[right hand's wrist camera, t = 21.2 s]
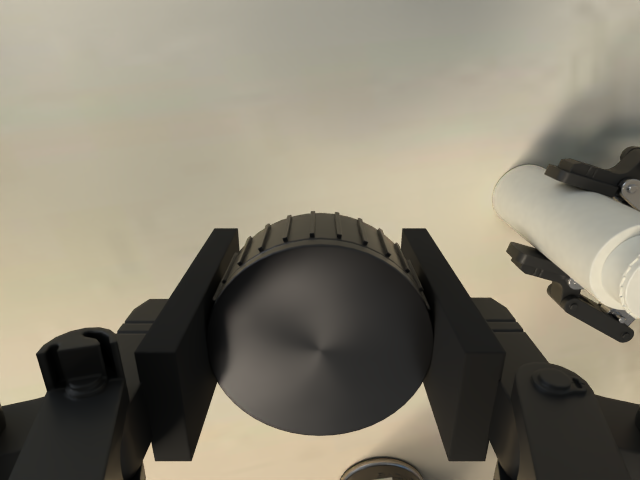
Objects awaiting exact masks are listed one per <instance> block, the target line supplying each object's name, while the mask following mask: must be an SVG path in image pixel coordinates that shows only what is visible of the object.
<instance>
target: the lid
mask: <svg viewBox="0 0 640 480" xmlns="http://www.w3.org/2000/svg"><path fill="white" fill-rule="evenodd" d="M423 291H424V290H423V288H422V285H421V283H420V281H419V279H418V277H417V275H416V272H415V270H414V268H413V266H412V264H411V262H410V260H407V261H406V259H405V257H404V255H403V253H402V251H401V249H400V246H399V245H398V243H395V244H394V243H393V242H392V241H391V240H390V239H389V238H387V237H386V236H385V235H384V233H383V231H382V230H381V229H380V228H379V229H378V230H377V229H375V228H374V227H372V226H370V225H368V224H366V223H364V222H363V221H362V219H360V218H358V220H356V219H353V218H350V217H347V216H342V215H339V213H338V212H335V214H327V213H315V211H311V214H303V215H298V216H293V217H292V216H291V215H289V216H287V219H284V220H281V221H279V222H276V223H274V224H272V225H270V224H267V225H266V226H265V229H263V230H262V231H260V232H259V233H257V234H256V235H255V236H254V237H253V238H252V237H251V236H250V237H249V238H248V239H247V241H246V244H245V246H244V247H243V248H242V249H241V250H240V252H239V253H236V252H235V254H234V255H233V257H232V260H231V262H230V264H229V266H228V268H227V271H225V273H224V275H223V277H222V280H221V282H220V284H219V286H218V288H217V290H216V293H215V295H214V297H213V299H212V302H211V303H213V304H214V305H213V307H212V310H211V313H210V316H209V319H208V323H207V330H206V341H207V350H208V358H209V363H210V366H211V369H212V372H213V374H214V376H215V378H216V380H217V382H218V384H219V385H220V387H221V388H222V389H223V391H224V392H225V394H226V395H227V396H228V397H229V398H230V399H231V400H232V401H233V402H234V403H235V404H236V405H237V406H238V407H239V408H241V409H242V410H243V411H244V412H246V413H247V414H249V415H250V416H252V417H253V418H255V419H257V420H259V421H261V422H262V423H264V424H266V425H269V426H272V427H274V428H277V429H280V430H283V431H287V432H291V433H296V434H303V435H315V436H325V435H337V434H344V433H349V432H353V431H357V430H360V429H363V428H366V427H369V426H372V425H374V424H376V423H378V422H380V421H382V420H384V419H385V418H387V417H388V416H390V415H392V414H393V413H395V412H396V411H397V410H398V409H400V408H401V407H402V406H403V405H405V403H406V402H407V401H408V400H409V399H410V398H411V397H412V396H413V395H414V394H415V392H416V391H417V390H418V388H419V387H420V386H421V384H422V382H423V380H424V378H425V377H426V375H427V372H428V369H429V367H430V364H431V360H432V353H433V344H434V329H433V323H432V319H431V316H430V312H431V308H430V306H429V304H428V302H427V299H426V297H425V295H424V293H423Z"/></svg>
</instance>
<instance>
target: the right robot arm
mask: <svg viewBox="0 0 640 480" xmlns="http://www.w3.org/2000/svg"><path fill="white" fill-rule="evenodd" d="M401 251H402V253H403V255H404V257H405V259H406V261H407V260H410V262H411V264H412V266H413V268H414V270H415V272H416V275H417V277H418V279H419V281H420V283H421V285H422V288H423V290H424V291H423V293H424V295H425V297H426V299H427V302H428V304H429V306H430V308H431V312H430V316H431V319H432V323H433V329H434V344H433V353H432V360H431V364H430V367H429V369H428V372H427V375H426V377H425V378H424V380H423V383H424V386H425V389H426V393H427V396H428V399H429V402H430V405H431V408H432V411H433V414H434V417H435V420H436V423H437V426H438V429H439V433H440V436H441V439H442V442H443V445H444V448H445V451H446V454H447V457H448V460H449V461H485V459H486V454H487V449H488V444H489V440H490V443H491V445H492V447H493V449H494V451H495V454H496V456H497V458H498V460H497V465H496V469H495V474H494V479H493V480H640V405H639V404H634V403H629V402H625V401H620V400H615V399H611V398H606V397H602V396H598V395H595V394H594V392H593V390H592V389H591V387H590V386H589V385H588V383H587V382H586V381H585V380H584V379H582V378H581V377H580V376H578V375H577V374H576V373H574V372H572V371H570V370H568V369H566V368H563V367H561V366H558V365H554V364H550V363H549V362H548V361H547V360H546V359H545V357H544V356H543V355H542V353H541V352H540V351H539V349H538V348H537V347H536V346H535V344H534V343H533V342H532V340H531V339H530V338H529V336H528V335H527V334H526V333H525V332H523V329H522V327H521V326H520V325H519V323H518V322H516V320H515V318H514V317H513V316H512V314H511V313H510V312H509V310H508V309H507V308H506V307H504V306H503V305H501V304H500V303H498V302H497V301H495V300H494V299H492V298H471V297H470V296H469V294H468V293H467V291H466V290H465V288H464V287H463V285H462V284H461V282H460V281H459V279H458V277H457V276H456V274H455V273H454V271H453V270H452V268H451V267H450V265H449V264H448V262H447V260H446V259H445V257H444V256H443V254H442V253H441V251H440V250H439V248H438V247H437V245H436V244H435V242H434V240H433V239H432V237H431V236H430V234H429V233H428V231H427V230H426V228H402V241H401ZM235 252H236V253H239V252H240V251H239V238H238V228H215V229H214V230H213V232H212V233H211V235H210V236H209V238H208V239H207V241H206V242H205V244H204V246H203V247H202V249H201V250H200V252H199V253H198V255H197V256H196V258H195V259H194V261H193V262H192V264H191V266H190V267H189V269H188V270H187V272H186V273H185V275H184V276H183V278H182V279H181V281H180V283H179V284H178V286H177V287H176V289H175V290H174V292H173V293H172V295H171V296H170V298H169V299H149V300H147V301H146V302H144V303H143V304H141V305H140V306H138V307H137V308H135V309H134V310H133V311H132V313H131V314H130V315H129V317H128V318H127V319H126V320H125V324H122V326H121V327H120V328H119V330H118V331H117V334H115V333H113V332H112V331H111V330H109V329H104V328H100V327H96V328H83V329H79V330H74V331H70V332H68V333H65V334H63V335H60V336H58V337H55V338H54V339H52V340H51V341H49V342H48V343H46V344H45V345H43V346H42V348H41V349H40V350H39V351H38V352H37V353H36V356H37V359H38V362H39V366H40V369H41V372H42V376H43V379H44V382H45V386H46V389H47V393H46V395H45V397H41V398H38V399H34V400H29V401H24V402H20V403H15V404H10V405H6V406H1V404H0V480H146V476H145V470H144V465H143V459H144V456H145V454H146V452H147V450H148V448H149V445H150V443H152V448H153V453H154V458H155V461H192V458H193V455H194V452H195V449H196V446H197V443H198V439H199V436H200V433H201V430H202V427H203V424H204V421H205V418H206V415H207V412H208V409H209V406H210V403H211V400H212V396H213V393H214V390H215V387H216V384H217V380H216V378H215V376H214V374H213V372H212V369H211V366H210V363H209V358H208V350H207V341H206V330H207V323H208V319H209V316H210V313H211V310H212V307H213V305H214V304H213V303H211V302H212V299H213V297H214V295H215V293H216V290H217V288H218V286H219V284H220V282H221V280H222V277H223V275H224V273H225V271H227V268H228V266H229V264H230V262H231V260H232V257H233V255H234V254H235Z"/></svg>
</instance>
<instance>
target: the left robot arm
mask: <svg viewBox="0 0 640 480" xmlns="http://www.w3.org/2000/svg"><path fill="white" fill-rule="evenodd" d="M620 160H621V161H620V162H619V163H618V164H617V165H616V166H614V167H613V168H610V169H602V168H598V167H595V166H592V165H589V164H586V163H583V162H579V161H576V160H573V159H561V161H560V163H559V165H558V166H554V165H551V164H549V165H548V167H547V169H546V171H545V173H544V174H545V175H547V176H549V177H551V178H553V179H555V180H557V181H560V182H563V183H566V184H569V185H572V186H576V187H579V188H582V189H585V190H589V191H592V192H595V193H599V194H602V195H605V196H608V197H612V198H613V199H615V201H617V202H619V203H622V204H624V205H626V206H628V207H630V208H633V209H635V210H637V211H639V212H640V147H634V146H631V147H628V148H626V149H625V150H624V151H623V152H622V154H621V157H620ZM506 252H507V253H508V254H509V255H510V256H511V257H512V259H511V261H512V262H513V263H514V264H515V265H516V266H517V267H518V268H519V269H520V270H522V271H523V272H524V273H525V274H529V275H533V276H536V277H540V278H543V279H547V280H551V281H552V284H550V285H549V286H548V288H547V293H548V295H549V296H550V297H551V298H552V299H553V300H554V301H555V302H556V303H557V304H558V305H559V306H560V307H562V308H563V309H564V310H565V311H566V312H567V313H568V314H570V315H572V316H574V317H575V318H577V319H579V320H581V321H583V322H584V323H586V324H588V325H590V326H592V327H593V328H595V329H597V330H599V331H601V332H602V333H604V334H606V335H608V336H610V337H612V338H613V339H615V340H617V341H619V342H622V343H623V342H627V341H629V340H631V339H632V338H633V336H634V331H633V330H632V329H631V328H630V327H629V325H630V324H631V323H632V322H633V321H634V320H635V318H634V317H632V316H631V315H629V314H628V313H627V312H626V311H625V310H618V309H614V308H610V307H608V306H606V305H604V304H602V303H601V302H599V303H598V304H597V303H595V302H593V301H592V300H590V299H588V298H586V297H585V296H583V295H581V294H580V290H581V289H584V288H583V287H582V286H580V285H579V284H578V283H577V282H576V281H575V280H573V279H572V278H571V277H570V276H569V275H567V274H566V273H565V272H564V271H563V270H561V269H560V268H559V267H558V266H557V265H555V264H554V263H553V262H552V261H551V260H549V259H548V258H547V257H546V256H545V255H543V254H542V253H541V252H540V251H539V250H537V249H536V248H532V247H529V246H525V245H522V244H518V243H514V242H510V244H509V246H508V249H507V251H506ZM340 480H423V478H422V476H421V475H420V473H419V472H418V471H417V470H416V469H415V468H414V467H412V466H411V465H409V464H407V463H405V462H403V461H400V460H396V459H388V458H378V459H372V460H367V461H364V462H361V463H359V464H357V465H355V466H353V467H352V468H350V469H349V470H348V471H347V472H346V473H345V474H344V475H343V476H342V478H341V479H340Z"/></svg>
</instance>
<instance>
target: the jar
mask: <svg viewBox="0 0 640 480" xmlns="http://www.w3.org/2000/svg"><path fill="white" fill-rule="evenodd" d="M545 171H546V169H545V168H542V167H540V166H537V165H522V166H518V167H516V168H514V169H512V170H510V171H509V172H507V173H506V174H505V175H504V176H503V177H502V178H501V179H500V180H499V182H498V183H497V185H496V187H495V189H494V192H493V198H492V202H493V208H494V210H495V212H496V214H497V215H498V217H499V218H500V219H502V220H503V221H504V222H505V223H506V224H508V225H509V226H510V227H511V228H512V229H514V230H515V231H516V232H517V233H518V234H520V235H521V236H522V237H523V238H524V239H526V240H527V241H528V242H529V243H530V244H531V245H533V246H534V247H535V248H536V249H537V250H539V251H540V252H541V253H542V254H543V255H545V256H546V257H547V258H548V259H549V260H551V261H552V262H553V263H554V264H555V265H557V266H558V267H559V268H560V269H561V270H563V271H564V272H565V273H566V274H567V275H569V276H570V277H571V278H572V279H573V280H575V281H576V282H577V283H578V284H579V285H580V286H582V287H583V288H584V289H585V290H586V291H588V292H589V293H590V294H591V295H592V296H594V297H595V298H596V299H597V300H598V301H600V302H601V303H602V304H604V305H606V306H608V307H610V308H614V309H618V310H625V311H626V312H627V313H628V314H629V315H631V316H632V317H634V318H635V319H637V318H640V212H639V211H637V210H635V209H633V208H630V207H628V206H626V205H624V204H622V203H619V202H617V201H615V200H613V199H611V198H608V197H606V196H604V195H602V194H599V193H595V192H592V191H589V190H585V189H582V188H579V187H576V186H572V185H569V184H566V183H563V182H560V181H557V180H555V179H553V178H551V177H549V176H547V175H545V174H544V173H545Z"/></svg>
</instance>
